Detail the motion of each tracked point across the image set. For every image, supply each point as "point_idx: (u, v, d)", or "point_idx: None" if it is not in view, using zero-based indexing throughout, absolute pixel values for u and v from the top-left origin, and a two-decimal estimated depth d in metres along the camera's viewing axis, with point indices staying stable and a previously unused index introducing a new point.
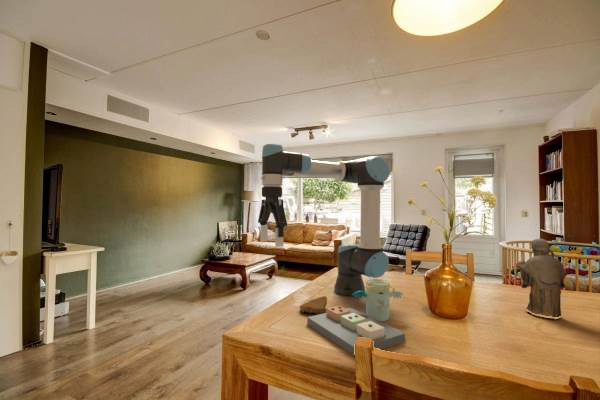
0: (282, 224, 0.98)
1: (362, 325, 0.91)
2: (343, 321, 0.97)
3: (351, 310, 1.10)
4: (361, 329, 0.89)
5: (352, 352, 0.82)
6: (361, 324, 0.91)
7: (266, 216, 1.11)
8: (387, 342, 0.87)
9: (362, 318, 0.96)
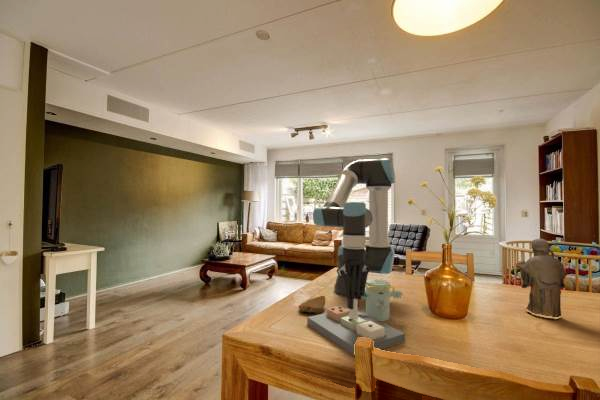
0: (343, 295, 0.96)
1: (362, 325, 0.91)
2: (343, 323, 0.97)
3: None
4: (361, 329, 0.89)
5: (352, 352, 0.82)
6: (361, 324, 0.91)
7: (354, 284, 0.98)
8: (387, 342, 0.87)
9: (362, 320, 0.96)
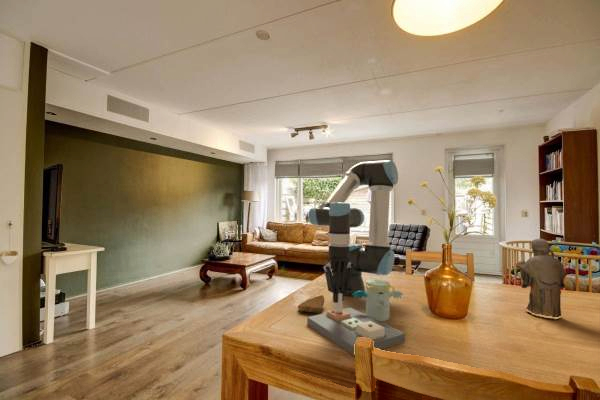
0: (329, 290, 1.03)
1: (362, 325, 0.91)
2: None
3: (351, 310, 1.10)
4: (361, 329, 0.89)
5: (352, 352, 0.82)
6: (361, 324, 0.91)
7: (339, 279, 1.05)
8: (387, 342, 0.87)
9: None
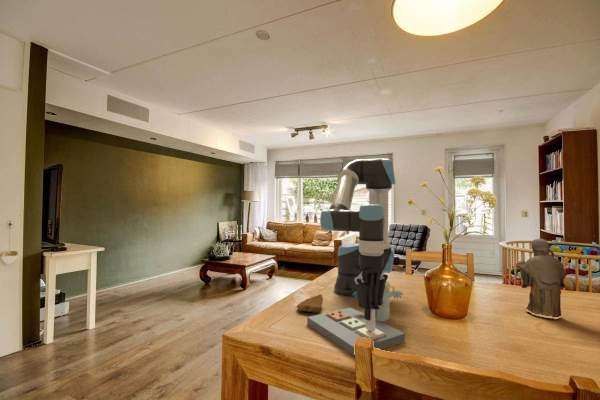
0: (360, 305, 0.89)
1: (362, 330, 0.91)
2: None
3: (351, 310, 1.10)
4: (361, 334, 0.89)
5: (352, 352, 0.82)
6: (361, 329, 0.91)
7: (372, 293, 0.91)
8: (387, 342, 0.87)
9: (362, 323, 0.96)
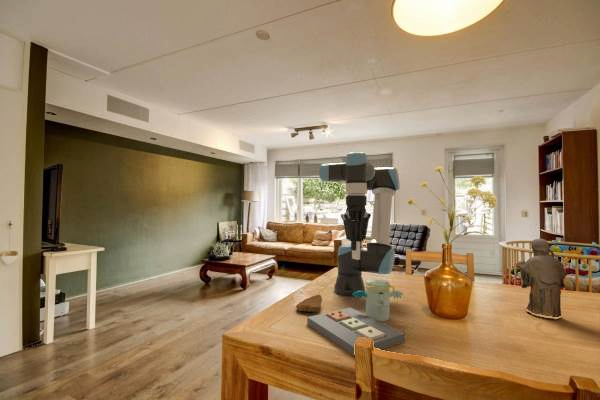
0: (347, 238, 1.05)
1: (362, 331, 0.91)
2: None
3: (351, 310, 1.10)
4: (361, 334, 0.89)
5: (352, 352, 0.82)
6: (361, 330, 0.91)
7: (357, 228, 1.07)
8: (387, 342, 0.87)
9: (362, 323, 0.96)
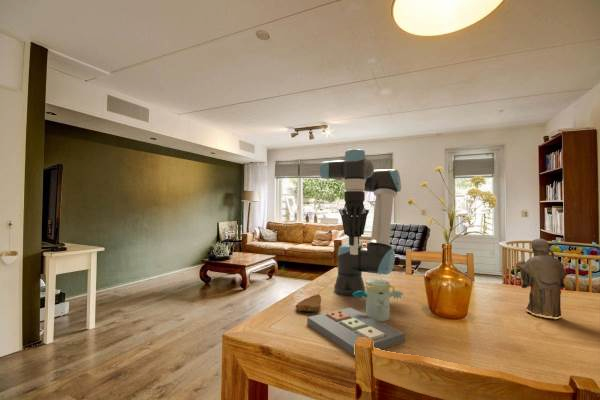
0: (345, 233, 1.07)
1: (362, 331, 0.91)
2: None
3: (351, 310, 1.10)
4: (361, 334, 0.89)
5: (352, 352, 0.82)
6: (361, 330, 0.91)
7: (355, 224, 1.09)
8: (387, 342, 0.87)
9: (362, 323, 0.96)
